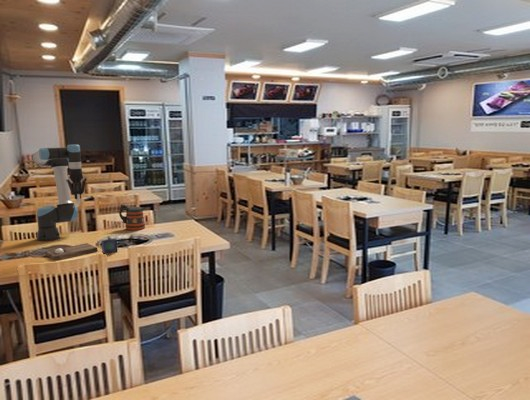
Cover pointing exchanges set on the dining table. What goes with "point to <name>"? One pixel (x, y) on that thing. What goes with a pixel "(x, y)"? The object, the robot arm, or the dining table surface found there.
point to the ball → (59, 250)
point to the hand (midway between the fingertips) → (78, 203)
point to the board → (72, 251)
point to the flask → (109, 245)
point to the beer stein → (133, 217)
